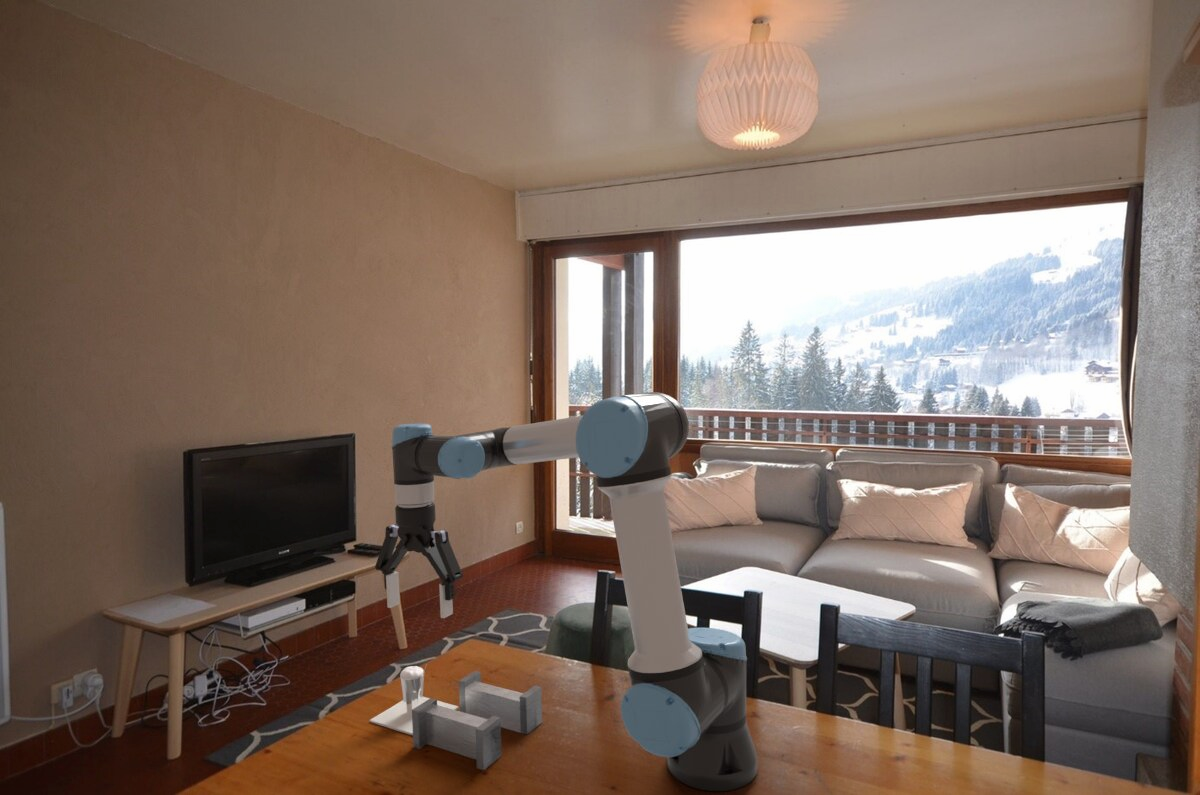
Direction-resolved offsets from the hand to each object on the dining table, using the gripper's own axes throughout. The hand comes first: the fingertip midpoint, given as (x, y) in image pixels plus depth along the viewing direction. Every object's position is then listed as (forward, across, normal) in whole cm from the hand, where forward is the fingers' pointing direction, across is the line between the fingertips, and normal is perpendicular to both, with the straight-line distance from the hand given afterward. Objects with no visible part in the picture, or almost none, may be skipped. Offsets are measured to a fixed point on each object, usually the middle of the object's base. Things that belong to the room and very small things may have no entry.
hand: (419, 610), depth 144 cm
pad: (+21, +1, +1) cm, 21 cm away
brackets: (+21, -15, +1) cm, 26 cm away
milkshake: (+21, +1, +1) cm, 21 cm away
